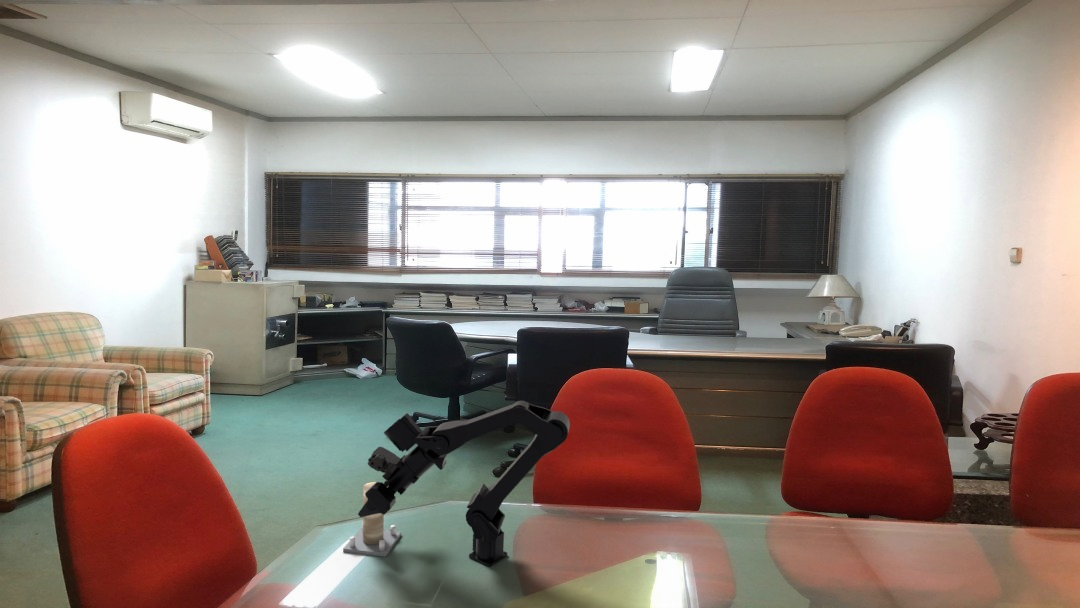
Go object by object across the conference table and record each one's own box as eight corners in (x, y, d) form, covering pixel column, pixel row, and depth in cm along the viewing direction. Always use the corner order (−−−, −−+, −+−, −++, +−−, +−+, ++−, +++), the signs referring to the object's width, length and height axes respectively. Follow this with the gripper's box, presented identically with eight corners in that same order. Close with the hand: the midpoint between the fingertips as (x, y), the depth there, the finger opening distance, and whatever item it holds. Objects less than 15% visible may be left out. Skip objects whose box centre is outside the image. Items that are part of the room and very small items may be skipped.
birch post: (386, 541, 146) (386, 487, 144) (366, 546, 143) (367, 491, 142) (379, 533, 150) (380, 480, 148) (360, 537, 147) (360, 484, 146)
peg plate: (401, 535, 151) (401, 524, 150) (385, 556, 141) (385, 545, 141) (361, 530, 152) (361, 519, 152) (343, 551, 142) (343, 540, 142)
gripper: (404, 425, 152) (360, 465, 155) (374, 453, 133) (325, 497, 136) (435, 459, 152) (391, 498, 155) (410, 492, 134) (359, 536, 136)
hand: (367, 506), depth 145 cm, fingers open, 9 cm apart
